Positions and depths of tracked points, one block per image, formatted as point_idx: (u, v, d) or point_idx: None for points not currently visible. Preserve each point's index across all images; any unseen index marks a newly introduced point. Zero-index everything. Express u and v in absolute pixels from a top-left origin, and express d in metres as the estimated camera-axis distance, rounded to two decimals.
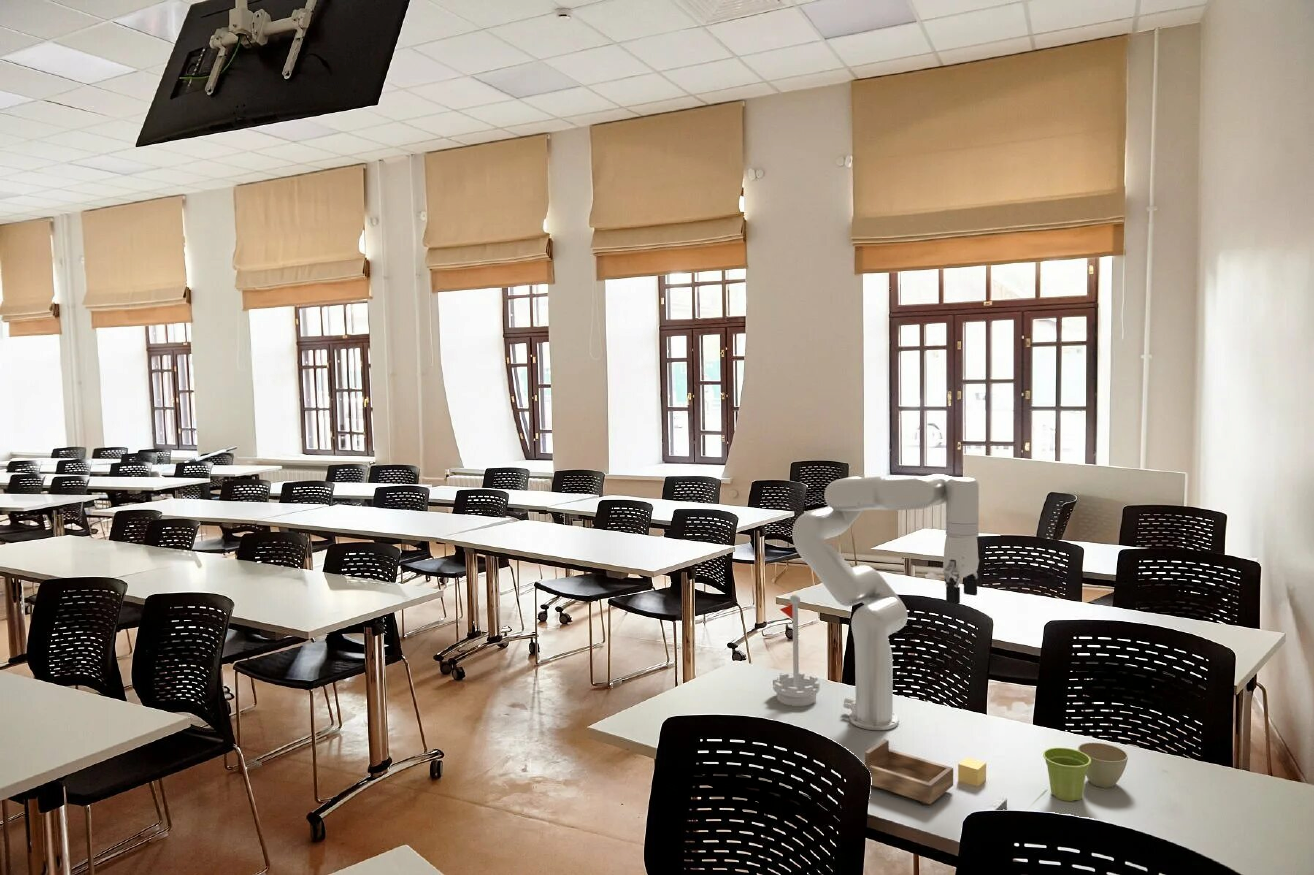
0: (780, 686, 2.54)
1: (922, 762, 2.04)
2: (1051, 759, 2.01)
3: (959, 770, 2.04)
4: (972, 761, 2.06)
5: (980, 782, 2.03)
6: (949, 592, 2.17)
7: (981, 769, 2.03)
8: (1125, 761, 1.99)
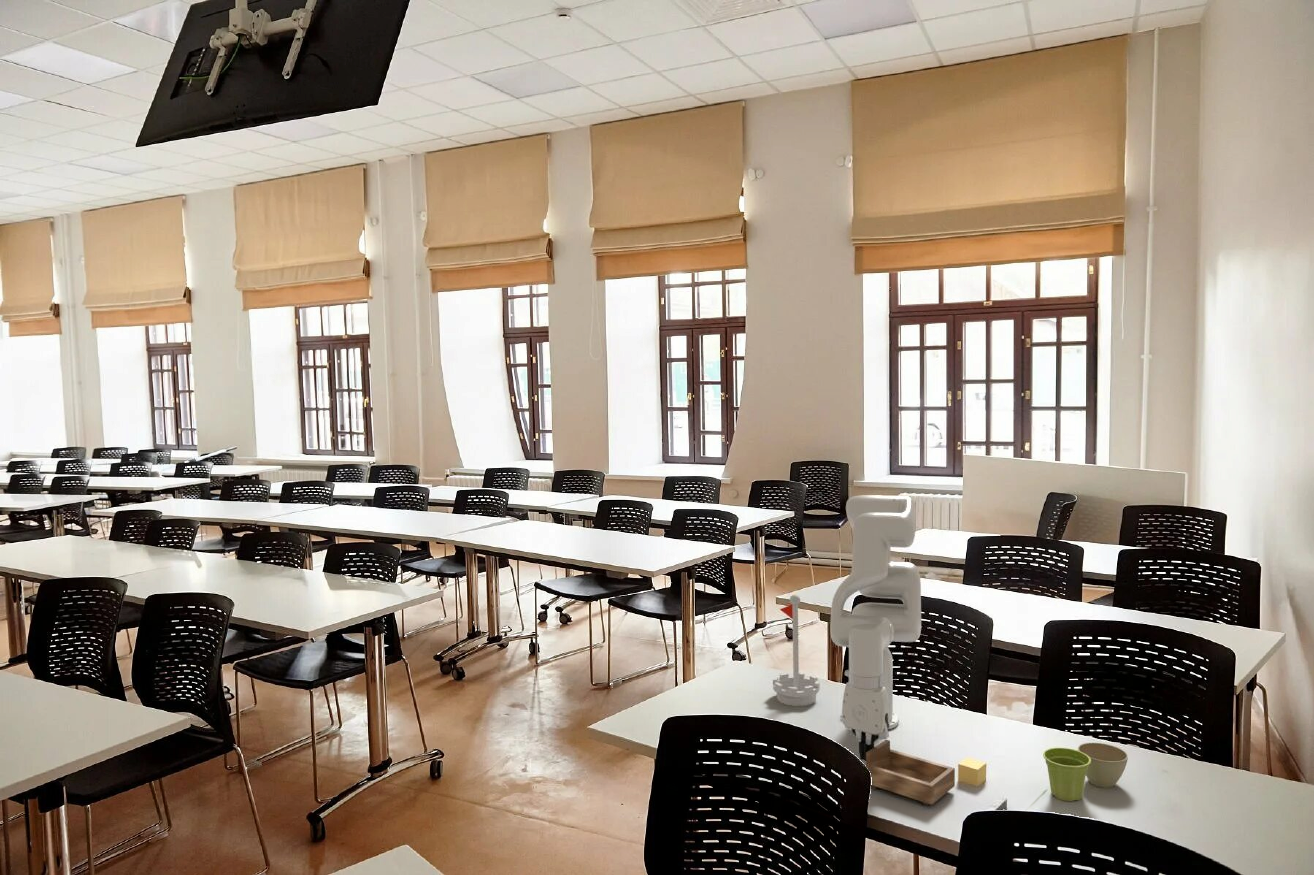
0: (780, 686, 2.54)
1: (923, 762, 2.03)
2: (1051, 759, 2.01)
3: (959, 770, 2.04)
4: (972, 761, 2.06)
5: (980, 782, 2.03)
6: None
7: (981, 769, 2.03)
8: (1125, 761, 1.99)
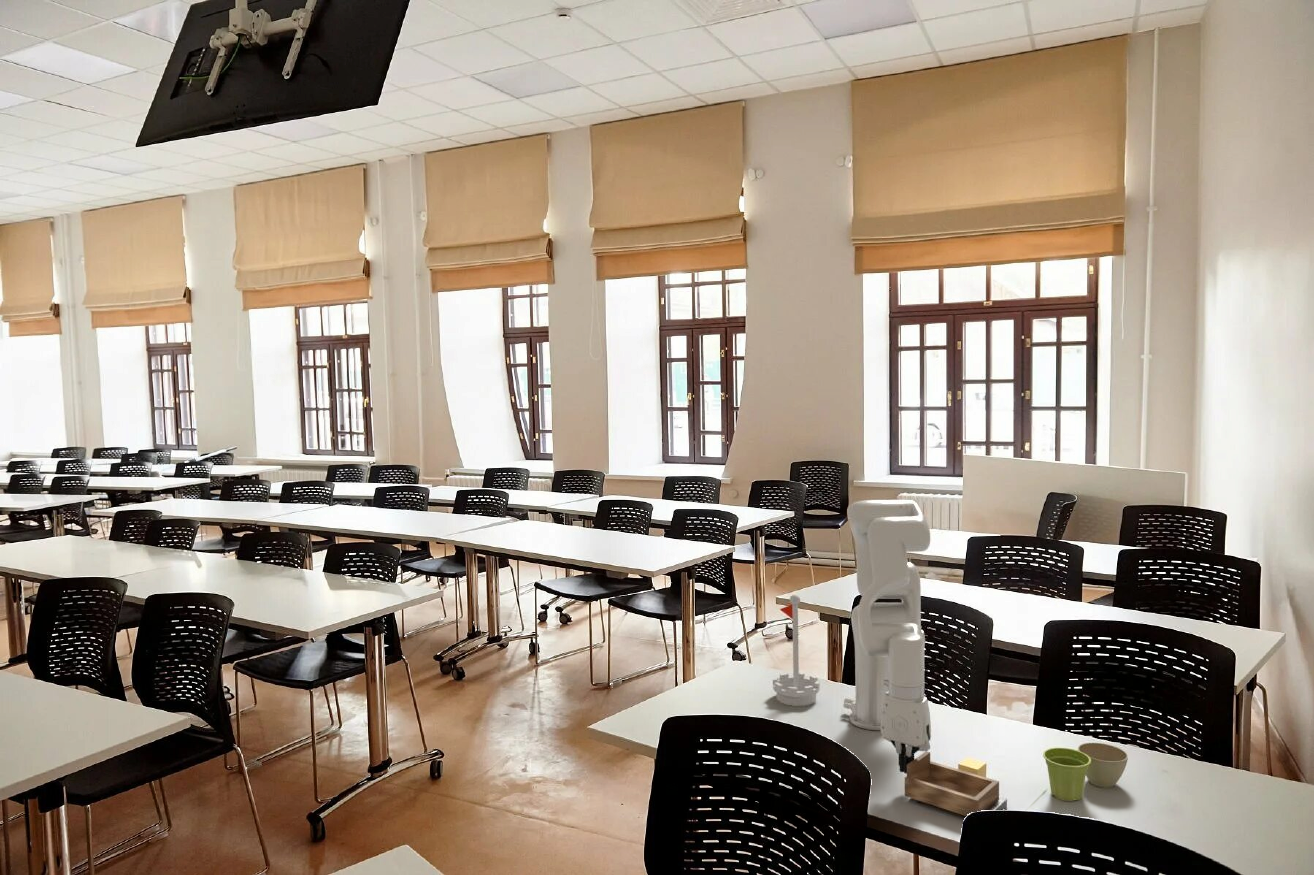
0: (780, 686, 2.54)
1: (966, 775, 1.97)
2: (1051, 759, 2.01)
3: None
4: (972, 761, 2.06)
5: None
6: (911, 761, 2.00)
7: (981, 770, 2.03)
8: (1125, 761, 1.99)
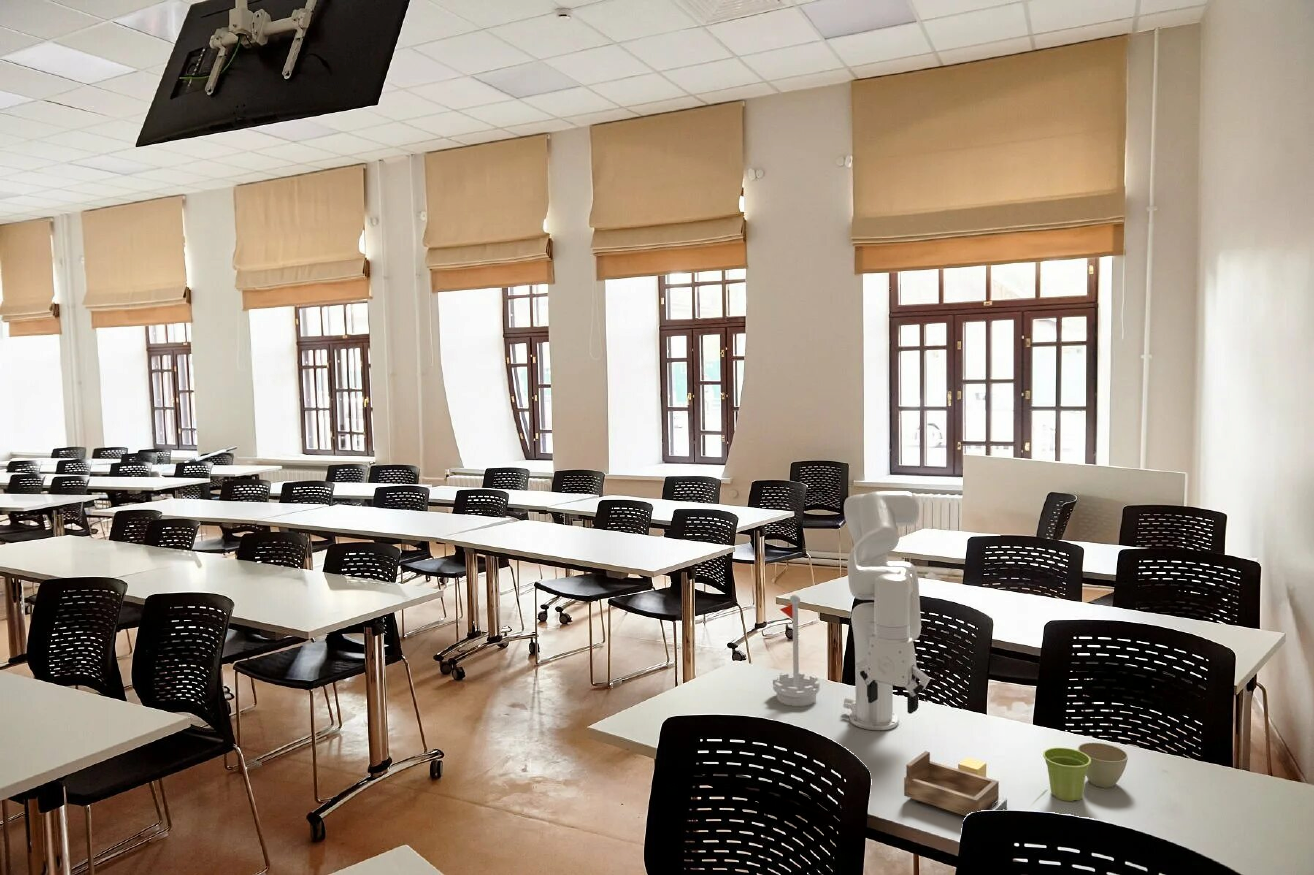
0: (780, 686, 2.54)
1: (965, 775, 1.97)
2: (1051, 759, 2.01)
3: None
4: (972, 761, 2.06)
5: None
6: (915, 701, 1.98)
7: (981, 770, 2.03)
8: (1125, 761, 1.99)
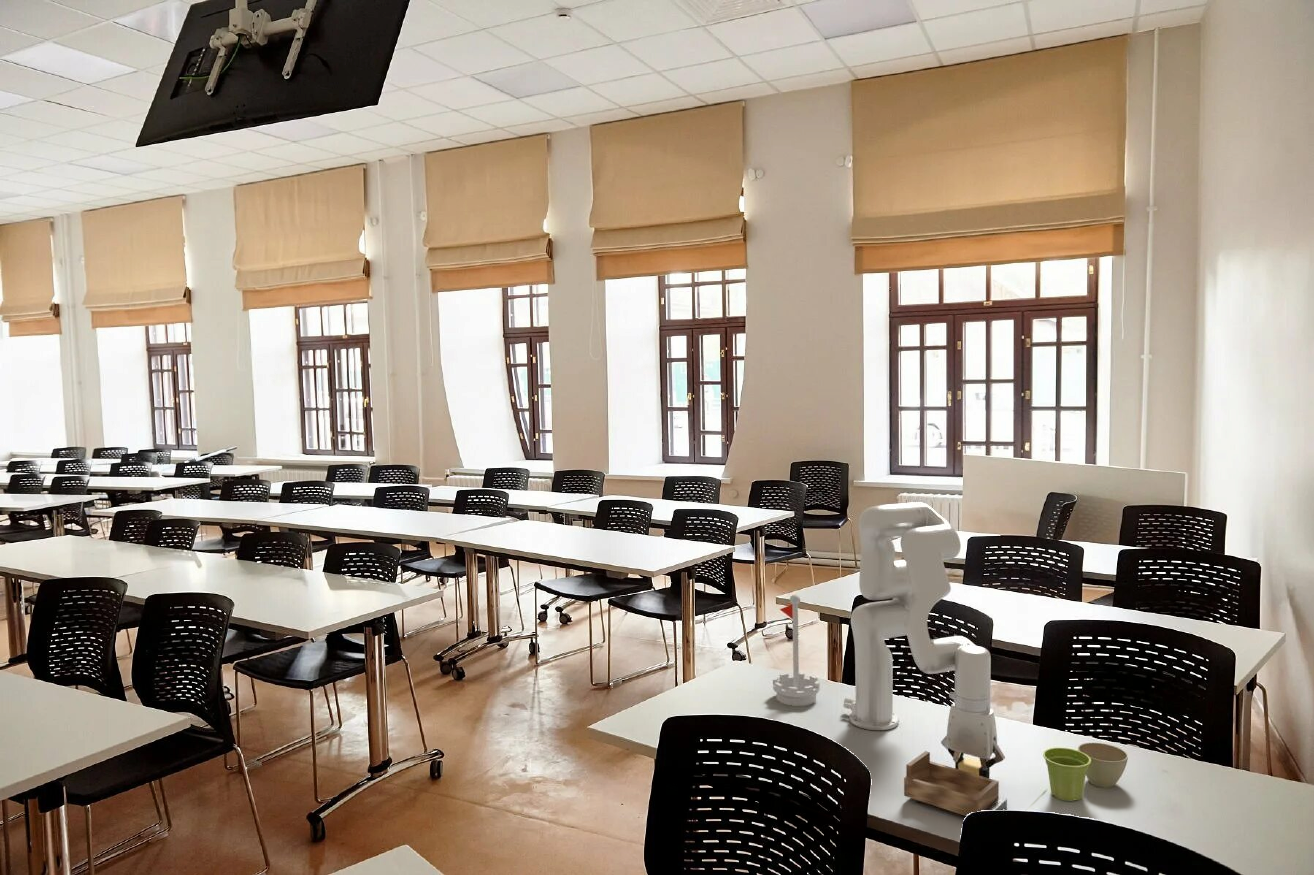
0: (780, 686, 2.54)
1: (965, 775, 1.97)
2: (1051, 759, 2.01)
3: (959, 769, 2.04)
4: (972, 761, 2.06)
5: None
6: (987, 775, 2.02)
7: None
8: (1125, 761, 1.99)
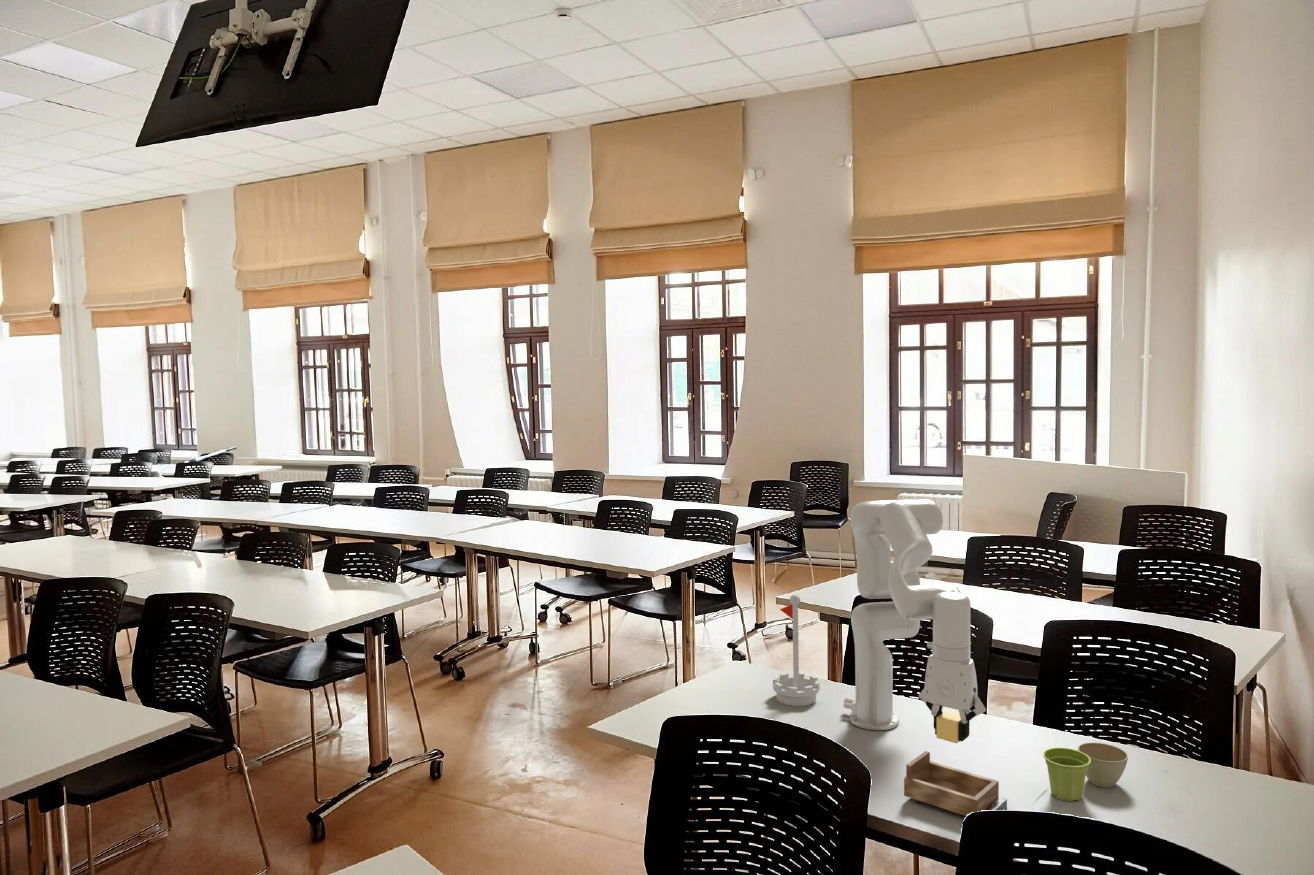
0: (780, 686, 2.54)
1: (965, 775, 1.97)
2: (1051, 759, 2.01)
3: (938, 723, 1.93)
4: (952, 714, 1.94)
5: None
6: (966, 728, 1.91)
7: None
8: (1125, 761, 1.99)
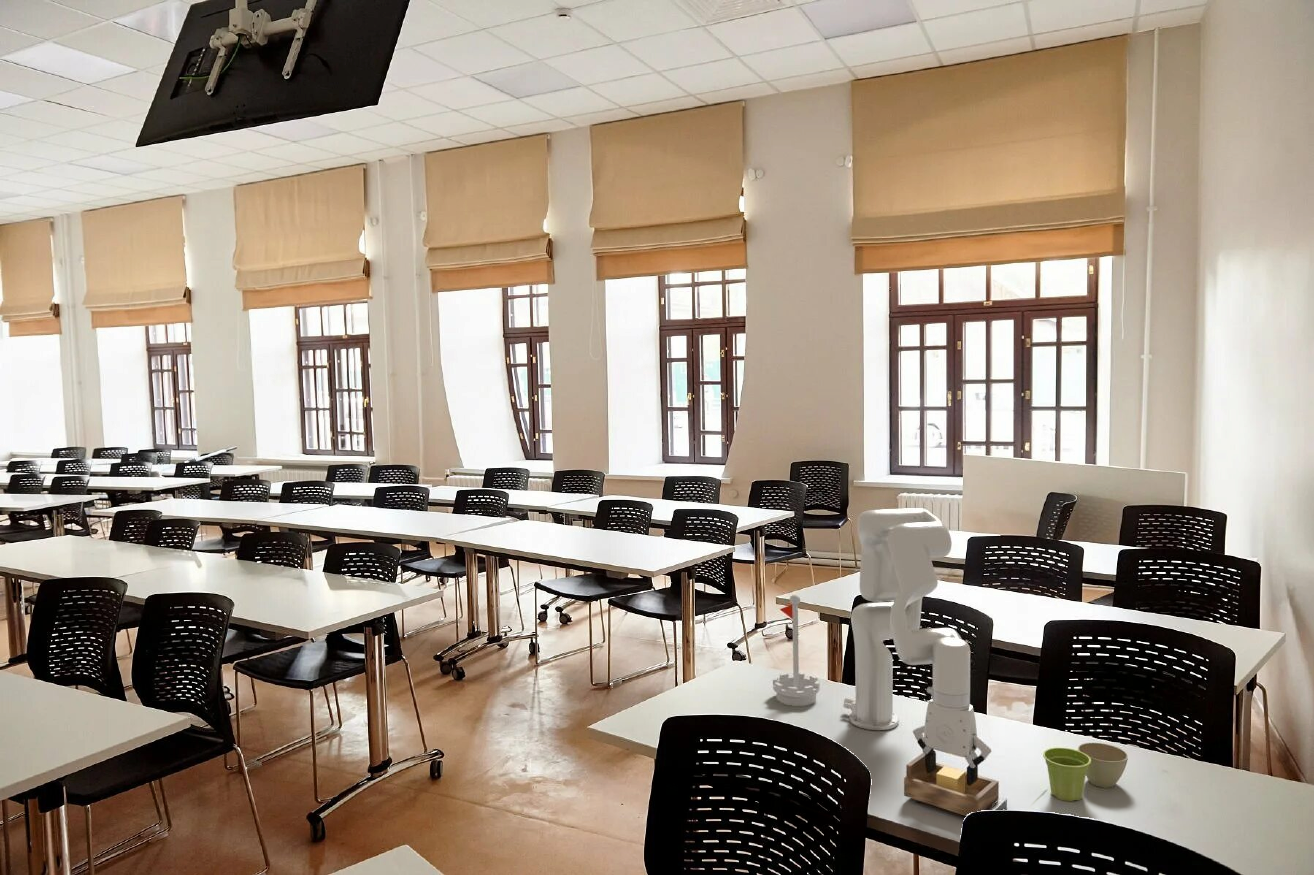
0: (780, 686, 2.54)
1: (965, 775, 1.97)
2: (1051, 759, 2.01)
3: (938, 780, 1.94)
4: (951, 770, 1.95)
5: (959, 792, 1.92)
6: (975, 773, 1.90)
7: (960, 779, 1.93)
8: (1125, 761, 1.99)
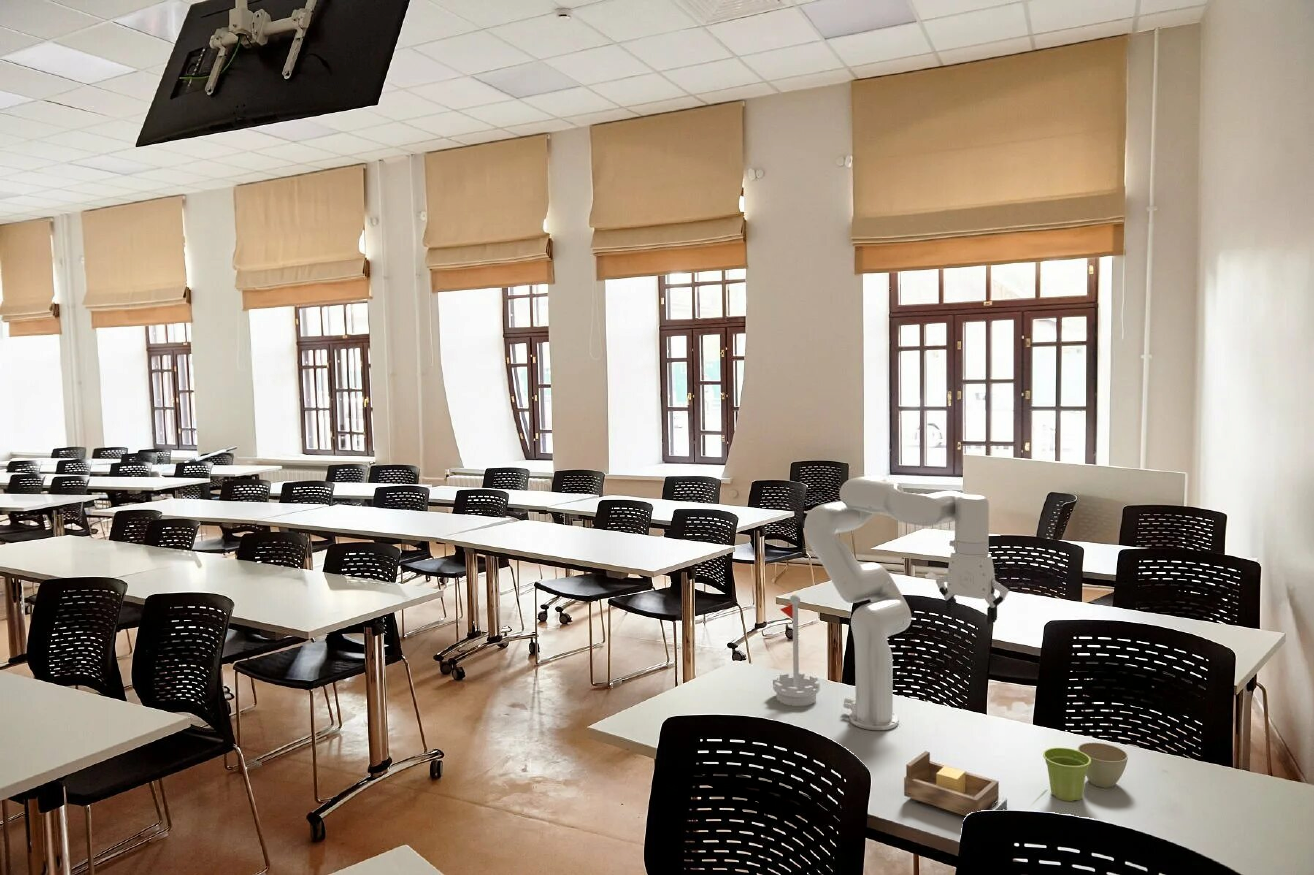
0: (780, 686, 2.54)
1: (965, 775, 1.97)
2: (1051, 759, 2.01)
3: (938, 780, 1.94)
4: (951, 770, 1.95)
5: (959, 792, 1.92)
6: (994, 612, 2.11)
7: (960, 779, 1.93)
8: (1125, 761, 1.99)
